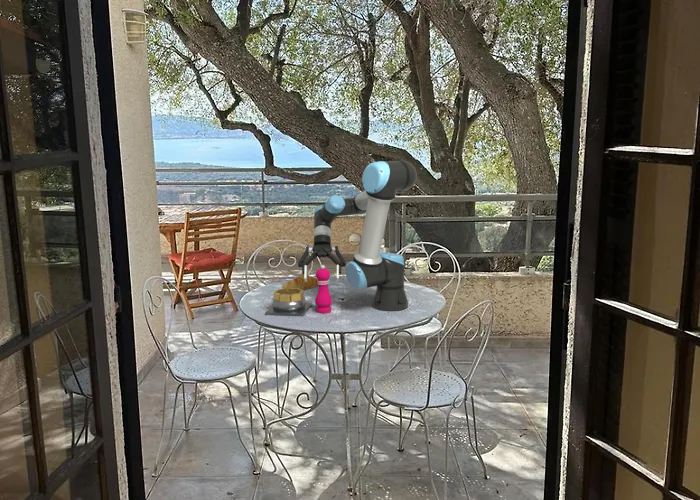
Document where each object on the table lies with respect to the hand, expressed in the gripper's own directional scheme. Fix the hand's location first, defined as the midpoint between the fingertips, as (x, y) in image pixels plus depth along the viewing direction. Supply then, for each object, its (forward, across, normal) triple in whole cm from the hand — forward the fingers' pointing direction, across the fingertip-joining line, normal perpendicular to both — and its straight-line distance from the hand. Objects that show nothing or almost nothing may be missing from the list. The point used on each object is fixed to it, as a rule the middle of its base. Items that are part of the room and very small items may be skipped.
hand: (321, 279), depth 259 cm
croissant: (-18, +12, -38) cm, 44 cm away
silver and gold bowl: (+9, +14, -10) cm, 19 cm away
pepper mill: (+11, -1, -8) cm, 14 cm away
